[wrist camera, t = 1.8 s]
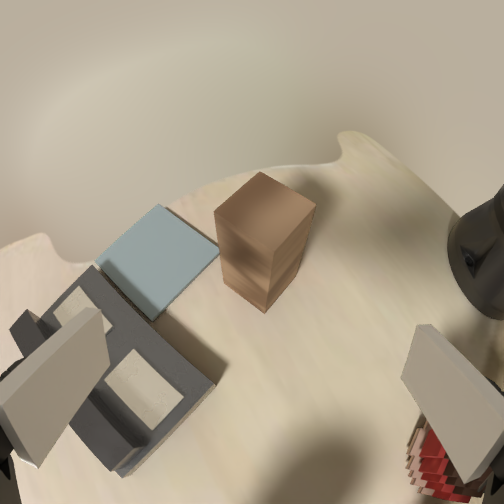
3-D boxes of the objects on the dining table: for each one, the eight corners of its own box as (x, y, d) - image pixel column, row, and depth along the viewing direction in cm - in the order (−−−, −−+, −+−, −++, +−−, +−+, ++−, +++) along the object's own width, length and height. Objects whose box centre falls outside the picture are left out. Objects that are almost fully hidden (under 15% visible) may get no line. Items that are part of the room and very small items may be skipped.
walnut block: (295, 276, 30) (316, 204, 21) (264, 313, 28) (274, 252, 19) (255, 249, 32) (259, 171, 22) (223, 283, 30) (213, 211, 20)
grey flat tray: (216, 386, 24) (209, 378, 20) (130, 475, 20) (107, 483, 15) (99, 273, 30) (79, 249, 26) (29, 347, 25) (1, 332, 21)
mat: (221, 251, 32) (221, 249, 31) (152, 321, 27) (151, 320, 27) (159, 205, 35) (158, 203, 34) (95, 262, 31) (94, 260, 30)
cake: (381, 483, 19) (529, 515, 4) (420, 395, 24) (569, 336, 8) (458, 499, 17) (593, 506, 1) (488, 421, 21) (620, 379, 6)
